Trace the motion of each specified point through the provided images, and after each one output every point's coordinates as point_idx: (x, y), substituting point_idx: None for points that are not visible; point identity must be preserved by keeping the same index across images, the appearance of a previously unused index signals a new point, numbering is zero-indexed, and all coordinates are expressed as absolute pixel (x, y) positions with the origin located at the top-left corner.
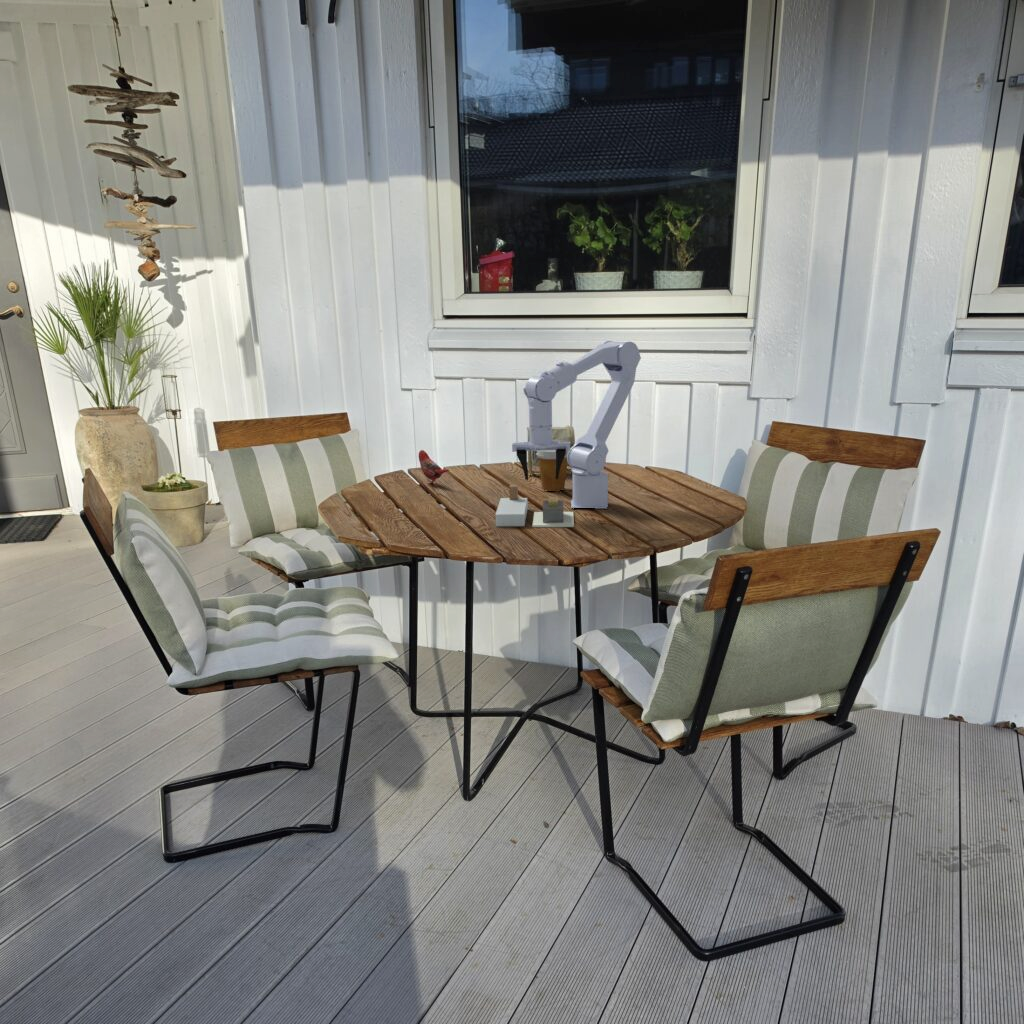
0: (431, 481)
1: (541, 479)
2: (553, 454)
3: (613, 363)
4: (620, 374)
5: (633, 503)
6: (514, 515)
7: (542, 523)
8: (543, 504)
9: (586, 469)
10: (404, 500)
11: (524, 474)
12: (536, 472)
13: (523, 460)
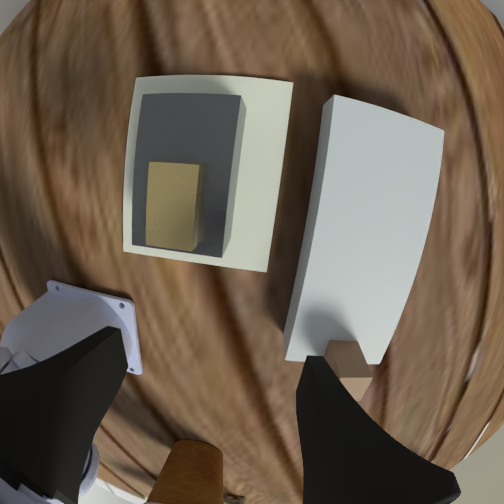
0: None
1: (221, 474)
2: None
3: None
4: None
5: (20, 311)
6: (374, 107)
7: (249, 99)
8: (228, 181)
9: (7, 360)
10: (495, 390)
11: (338, 378)
12: (231, 501)
13: (384, 462)
